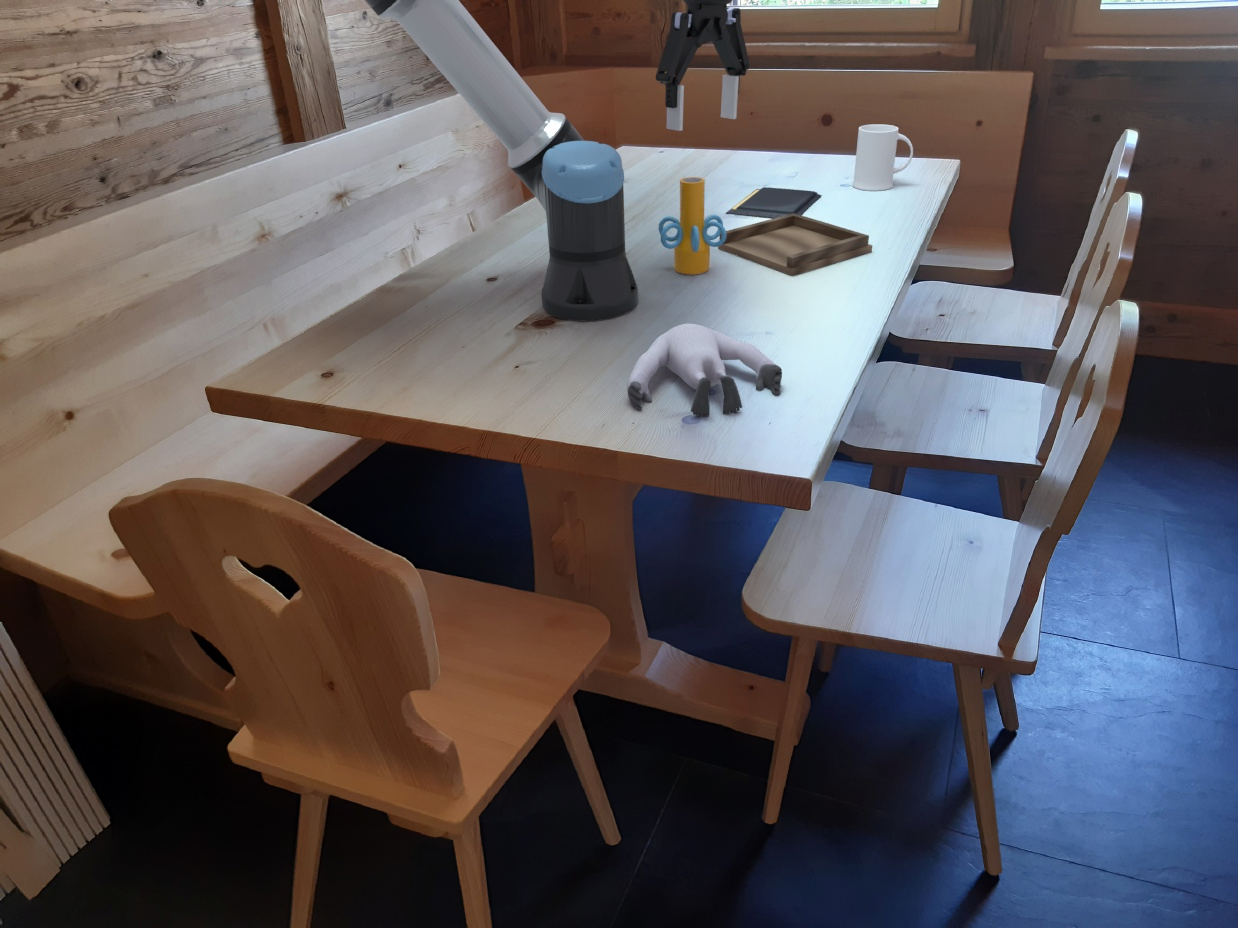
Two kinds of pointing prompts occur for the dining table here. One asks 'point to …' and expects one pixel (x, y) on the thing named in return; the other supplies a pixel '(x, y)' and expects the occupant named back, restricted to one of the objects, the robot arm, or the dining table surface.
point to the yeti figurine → (701, 366)
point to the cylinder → (692, 230)
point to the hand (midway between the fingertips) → (702, 124)
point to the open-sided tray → (795, 243)
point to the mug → (877, 157)
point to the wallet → (775, 203)
